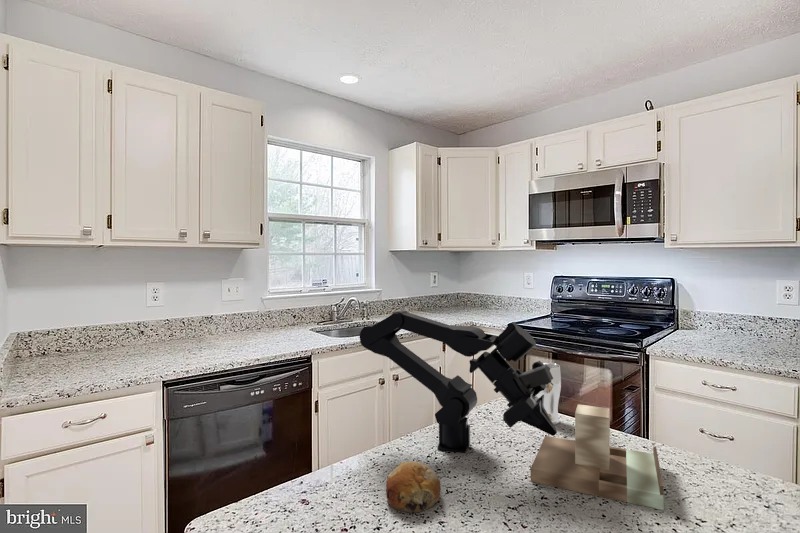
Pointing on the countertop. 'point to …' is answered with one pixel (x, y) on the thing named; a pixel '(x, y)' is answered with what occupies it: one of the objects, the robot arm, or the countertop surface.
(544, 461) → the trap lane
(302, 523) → the countertop surface
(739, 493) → the countertop surface
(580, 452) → the birch block
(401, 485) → the bread roll
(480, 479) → the countertop surface
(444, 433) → the robot arm
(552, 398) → the beer glass
